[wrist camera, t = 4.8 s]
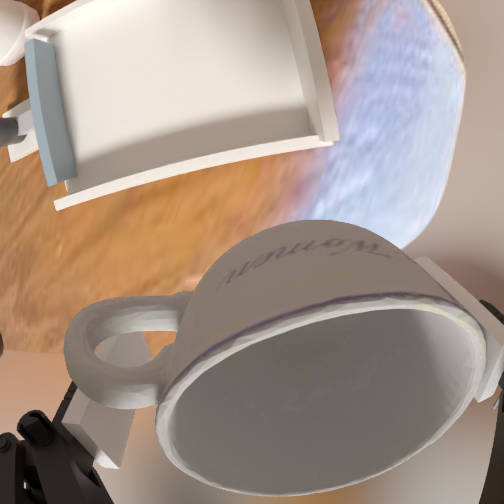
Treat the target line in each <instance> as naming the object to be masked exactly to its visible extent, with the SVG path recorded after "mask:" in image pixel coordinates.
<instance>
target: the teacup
mask: <svg viewBox="0 0 504 504" xmlns="http://www.w3.org/2000/svg"><path fill="white" fill-rule="evenodd" d="M156 330H163V331H176V332H177V335H176V339H175V342H174V343H172V344H169V345H167V346H165V347H164V348H163V349H162V350H161V352H160V353H159V354H158V355H157V356H156V357H155V358H154V359H153V360H152V361H151V362H148V363H146V364H144V365H141V366H138V367H132V368H122V367H118V366H114V365H110V364H107V363H106V362H104V361H102V360H101V359H99V358H98V357H97V356H96V355H95V354H94V350H95V347H96V346H97V345H98V344H99V343H100V342H101V341H103V340H105V339H107V338H109V337H112V336H116V335H120V334H124V333H130V332H138V331H156ZM64 356H65V361H66V366H67V370H68V373H69V375H70V377H71V378H72V380H73V382H74V383H75V384H76V386H77V387H78V389H79V390H80V391H81V392H82V393H83V394H85V395H86V396H87V397H88V398H90V399H91V400H93V401H95V402H97V403H100V404H102V405H104V406H107V407H112V408H117V409H136V408H144V407H147V406H151V405H154V404H158V406H157V410H156V419H155V427H156V433H157V438H158V440H159V442H160V445H161V446H162V448H163V450H164V453H165V454H166V456H167V457H168V458H169V460H170V461H171V462H172V463H173V464H174V465H175V466H177V467H178V468H179V469H181V470H182V471H183V472H185V473H186V474H188V475H190V476H192V477H194V478H196V479H198V480H200V481H202V482H204V483H206V484H208V485H211V486H216V487H218V488H221V489H224V490H228V491H232V492H238V493H243V494H249V495H258V496H297V495H307V494H312V493H317V492H325V491H330V490H334V489H338V488H342V487H345V486H349V485H353V484H356V483H359V482H362V481H364V480H367V479H370V478H372V477H375V476H377V475H379V474H381V473H384V472H385V471H388V470H390V469H392V468H394V467H396V466H398V465H400V464H401V463H403V462H404V461H406V460H407V459H409V458H411V457H412V456H414V455H416V454H417V453H419V452H420V451H421V450H422V449H424V448H425V447H427V446H429V445H430V444H431V443H433V442H434V441H436V440H437V439H438V438H439V437H441V436H442V435H443V434H444V432H445V431H446V430H447V429H448V428H449V427H450V426H451V425H452V424H453V423H454V422H455V421H456V420H457V419H458V418H459V417H460V416H461V414H462V413H463V412H464V411H465V409H466V408H467V406H468V404H469V403H470V402H471V400H472V398H473V397H474V396H475V394H476V392H477V389H478V387H479V385H480V382H481V380H482V378H483V375H484V371H485V368H486V360H487V345H486V340H485V337H484V334H483V331H482V328H481V326H480V325H479V324H478V322H477V321H476V320H475V318H474V317H473V316H472V315H471V314H470V313H469V312H468V311H467V310H466V309H465V308H463V307H462V306H461V305H459V304H457V303H456V302H454V301H452V300H451V298H450V297H449V296H448V295H447V294H446V293H445V292H444V291H443V289H442V288H441V287H440V286H439V285H438V284H437V283H436V282H435V281H434V280H433V279H432V278H431V277H430V276H429V275H428V274H427V273H426V272H425V271H424V270H423V269H422V268H421V267H419V266H418V265H417V264H416V263H415V262H414V261H413V260H412V259H411V258H409V256H407V255H406V254H405V253H404V252H403V251H401V250H400V249H399V248H398V247H396V246H395V245H393V244H392V243H390V242H389V241H387V240H386V239H384V238H383V237H381V236H379V235H377V234H375V233H373V232H371V231H369V230H367V229H365V228H362V227H359V226H356V225H353V224H349V223H344V222H338V221H332V220H302V221H295V222H290V223H285V224H281V225H278V226H275V227H272V228H269V229H265V230H263V231H261V232H258V233H256V234H254V235H252V236H250V237H248V238H246V239H245V240H243V241H241V242H240V243H238V244H236V245H235V246H234V247H232V248H231V249H230V250H228V251H227V252H226V253H224V254H223V255H222V256H221V257H220V258H219V259H218V260H217V261H216V262H215V263H214V264H213V265H212V266H211V267H210V269H209V270H208V271H207V272H206V273H205V275H204V276H203V277H202V279H201V280H200V282H199V284H198V285H197V287H196V289H195V290H194V291H182V292H178V293H175V294H173V295H171V296H131V297H119V298H113V299H107V300H103V301H100V302H97V303H94V304H91V305H89V306H88V307H86V308H84V309H82V310H81V311H80V312H79V313H78V314H77V315H76V316H75V317H74V318H73V320H72V321H71V323H70V325H69V327H68V329H67V332H66V336H65V340H64Z"/></svg>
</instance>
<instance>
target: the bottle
mask: <svg viewBox="0 0 504 504" xmlns="http://www.w3.org/2000/svg"><path fill="white" fill-rule="evenodd" d="M39 21H40V17H39V15H38V12H37V11H36V10H35V9H33V8H32V7H29V6H28V5H26V4H24V3H22V2H17V1H14V0H0V66H2V65H3V66H9V65H12V64H15V63H16V62H17V61H19V60H20V59H21V58H23V57H24V55H25V47H24V44H25V43H27V42H28V41H30V40H31V39H27V38H25V30H26V29H28V28H29V27H31V26H32V25H34V24H36V23H37V22H39Z"/></svg>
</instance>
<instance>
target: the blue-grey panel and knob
mask: <svg viewBox="0 0 504 504" xmlns="http://www.w3.org/2000/svg"><path fill="white" fill-rule="evenodd" d="M24 47H25V62H26V73H27V82H28V91H29V98H30V105H31V109H30V110H28V111H26V112H24V113H23V114H21V115H19V116H18V117H7V118H0V147H2V146H7V145H12V144H18V143H21V142H22V141H24V139H25V138H26V136H27V134H28V133H30V132H32V131H33V130H35V133H36V138H37V143H38V148H39V152H40V157H41V161H42V165H43V169H44V173H45V177H46V181H47V184H48V187H50V186H52V185H55V184H57V183H60V182H62V181H65V180H67V179H70V178H73V177H75V176H78V174H77V171H76V167H75V163H74V159H73V155H72V150H71V146H70V142H69V137H68V132H67V128H66V123H65V118H64V112H63V107H62V101H61V95H60V89H59V82H58V75H57V67H56V58H55V48H54V45H53V44H50V43H47V42H44V41H41V40H38V39H35V38H33V39H31V40H30V41H28V42H27V43H25V44H24Z"/></svg>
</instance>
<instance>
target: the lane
mask: <svg viewBox="0 0 504 504" xmlns="http://www.w3.org/2000/svg"><path fill="white" fill-rule="evenodd" d="M25 38H27V39H33V38H35V39H38V40H41V41H44V42H47V43H50V44H53V45H54V48H55V58H56V67H57V75H58V82H59V89H60V95H61V101H62V107H63V112H64V118H65V123H66V128H67V132H68V137H69V142H70V146H71V150H72V155H73V159H74V163H75V167H76V171H77V174H78V176H75V177H73V178H70V179H67V180H65V185H66V188H67V192H68V194H67V195H65V196H63V197H61V198H59V199H57V200H55V201H54V204H55V207H56V211H58V210H61V209H64V208H66V207H69V206H72V205H75V204H78V203H81V202H84V201H87V200H91V199H94V198H97V197H100V196H103V195H106V194H110V193H113V192H116V191H120V190H123V189H127V188H130V187H134V186H137V185H141V184H144V183H148V182H152V181H155V180H159V179H163V178H167V177H171V176H175V175H179V174H183V173H187V172H191V171H195V170H199V169H204V168H208V167H213V166H217V165H222V164H226V163H231V162H236V161H241V160H246V159H251V158H256V157H261V156H267V155H272V154H278V153H284V152H290V151H296V150H302V149H309V148H315V147H322V146H329V145H333V141H338V140H340V138H339V131H338V125H337V119H336V114H335V108H334V103H333V97H332V92H331V87H330V82H329V77H328V72H327V68H326V63H325V59H324V54H323V50H322V46H321V42H320V38H319V34H318V30H317V26H316V22H315V18H314V15H313V11H312V8H311V4H310V1H309V0H77V1H75V2H73V3H71V4H69V5H67V6H65V7H63V8H62V9H60V10H58V11H56V12H54V13H52V14H51V15H49V16H47V17H46V18H44V19H42V20H41V21H39V22H37V23H36V24H34V25H32V26H31V27H29V28H28V29H26V30H25ZM30 109H31V105H30V98H28V99H27V100H25V101H23V102H22V103H20V104H18V105H17V106H15V107H14V108H12V109H10V110H9V111H7V112H6V113H4V114H3V115H2V116H3V118H7V117H18V116H19V115H21V114H23V113H24V112H26V111H28V110H30ZM38 149H39V148H38V143H37V138H36V133H35V130H33V131H32V132H30V133H28V134H27V136H26V138H25V139H24V141H22V142H21V143H18V144H12V145H8V150H9V155H10V159H11V162H14V161H17V160H19V159H21V158H23V157H25V156H26V155H28V154H30V153H32V152H34V151H36V150H38Z"/></svg>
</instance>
